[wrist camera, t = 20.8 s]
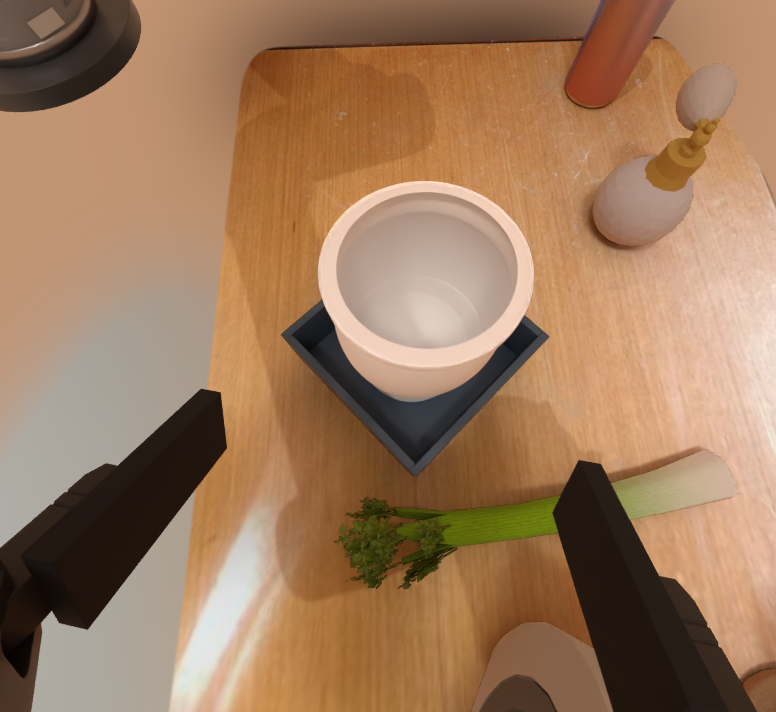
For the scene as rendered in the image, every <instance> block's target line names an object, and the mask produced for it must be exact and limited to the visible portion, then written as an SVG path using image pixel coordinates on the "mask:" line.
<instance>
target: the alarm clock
mask: <svg viewBox="0 0 776 712" xmlns="http://www.w3.org/2000/svg"><path fill="white" fill-rule="evenodd" d="M471 712H613V709H612V706H611V703H610V700H609V696H608V693H607V690H606V687H605V683H604V680H603V677H602V674H601V670H600V667H599V664H598V661H597V657H596V654H595V651H594V648H592V647H591V646H589V645H587V644H585V643H583V642H582V641H580V640H578V639H576V638H575V637H573V636H571V635H569V634H567V633H566V632H564V631H562V630H560V629H558V628H557V627H555V626H553V625H551V624H550V623H548V622H530V623H522V624H521V625H519V626H518V627H516V628H515V629H513V630H511V631H510V632H508V633H507V634H505V635H504V636H503V637H502V638H501V639H500V641H499V642H498V643H497V644H496V645H495V647H494V649H493V652H492V654H491V657H490V660H489V663H488V665H487V668H486V671H485V674H484V677H483V679H482V682H481V685H480V688H479V691H478V693H477V696H476V699H475V702H474V705H473V707H472V710H471Z"/></svg>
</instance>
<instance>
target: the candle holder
mask: <svg viewBox="0 0 776 712" xmlns="http://www.w3.org/2000/svg"><path fill="white" fill-rule="evenodd" d="M742 685H743V687H744V689H745V691H746V692H747V694H748V696H749V698H750V699H751V701H752V703H753V705H754V706H755V708H756V710H757V712H776V668H774V669H766V670H763V671H760V672H757V673H755V674H754V675H752V676H751V677H749V678H748V679H747V680H746V681H745V682H744V683H743V684H742Z"/></svg>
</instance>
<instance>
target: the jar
mask: <svg viewBox="0 0 776 712" xmlns="http://www.w3.org/2000/svg"><path fill="white" fill-rule="evenodd" d="M318 283H319V289H320V293H321V297H322V300H323V303H324V305H325V308H326V310H327V312H328V314H329V315H330V317H331V319H332V321H333V323H334V324H335V329H336V333H337V336H338V339H339V342H340V344H341V347H342V349H343V351H344V353H345V355H346V356H347V358H348V360H349V361H350V363H351V364H352V365H353V367H354V368H355V369H356V370H357V371H358V372H359V373H360V374H361V375H362V376H363V377H364V378H365V379H366V380H367V381H369V382H370V383H371V384H373V385H374V386H375V387H376V388H377V389H378V390H379V391H380V392H382V393H383V394H385V395H386V396H388V397H390V398H393V399H396V400H399V401H404V402H419V401H424V400H428V399H431V398H433V397H435V396H437V395H440V394H443V393H446V392H448V391H451V390H453V389H455V388H457V387H459V386H460V385H462V384H464V383H465V382H467V381H468V380H469V379H471V378H472V377H473V376H474V375H475V374H477V373H478V372H479V371H480V370H481V369H482V368H483V367H484V365H485V364H486V363H487V362H488V361H489V359H490V358H491V357H492V355H493V354H494V352H495V350H496V349H497V347H499V346H500V345H501V344H502V343H503V342H504V341H505V340H506V339H507V338H508V337H509V336H510V335H511V334H512V333H513V331H514V330H515V329H516V327H517V326H518V324H519V323H520V321H521V319H522V318H523V316H524V314H525V312H526V310H527V308H528V305H529V302H530V299H531V296H532V291H533V284H534V268H533V261H532V256H531V253H530V249H529V247H528V244H527V242H526V240H525V238H524V236H523V234H522V232H521V231H520V229H519V228H518V226H517V225H516V223H515V222H514V221H513V220H512V219H511V217H510V216H509V215H508V214H507V213H506V212H505V211H503V210H502V209H501V208H500V207H499V206H498V205H496V204H495V203H493V202H492V201H491V200H489V199H487V198H486V197H484V196H482V195H480V194H478V193H476V192H474V191H472V190H469V189H467V188H464V187H461V186H457V185H453V184H449V183H443V182H434V181H415V182H406V183H400V184H396V185H392V186H388V187H385V188H383V189H380V190H377V191H375V192H373V193H371V194H369V195H367V196H365V197H364V198H362V199H360V200H359V201H357V202H356V203H355V204H353V205H352V206H351V207H350V208H349V209H347V210H346V211H345V212H344V213H343V214H342V215H341V216H340V218H339V219H338V220H337V221H336V222H335V224H334V225H333V227H332V228H331V230H330V231H329V233H328V235H327V237H326V239H325V241H324V244H323V247H322V250H321V253H320V258H319V264H318Z"/></svg>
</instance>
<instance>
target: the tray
mask: <svg viewBox="0 0 776 712" xmlns="http://www.w3.org/2000/svg"><path fill="white" fill-rule="evenodd" d="M281 335H282V337H283V338H284V339H285V340H286V341H287V343H288V344H289V345H290V346H291V347H292V349H293V350H294V351H295V352H296V353H297V355H298V356H299V357H300V358H301V359H302V360H303V361H304V362H305V363H306V364H307V365H308V367H309V368H310V369H311V370H312V371H313V372H314V373H315V374H316V375H317V376H318V377H319V378H320V379H321V380H322V381H323V382H324V383H325V384H326V386H327V387H328V388H329V389H330V390H331V391H332V392H333V393H334V394H335V395H336V396H337V397H338V398H339V399H340V400H341V401H342V402H343V403H344V405H345V406H346V407H347V408H348V409H349V410H350V411H351V412H352V413H353V414H354V415H355V416H356V417H357V418H358V419H359V420H360V421H361V422H362V424H363V425H364V426H365V427H366V428H367V429H368V430H369V431H370V432H371V433H372V434H373V435H374V436H375V437H376V438H377V439H378V440H379V441H380V443H381V444H382V445H383V446H384V447H385V448H386V449H387V450H388V451H389V452H390V453H391V454H392V455H393V456H394V457H395V458H396V459H397V460H398V462H399V463H400V464H401V465H402V466H403V467H404V468H405V469H406V470H407V471H408V472H409V473H410V474H411V475H413V476H417V475H418V474H419V473H420V472H421V471H422V470H423V469H424V468H425V467H426V466H427V465H428V464H429V463H430V462H431V461H432V460H433V459H434V458H435V457H436V456H437V454H438V453H439V452H440V451H441V450H442V449H443V448H444V447H445V446H446V445H447V444H448V443H449V442H450V441H451V440H452V439H453V438H454V437H455V436H456V435H457V433H458V432H459V431H460V430H461V429H462V428H463V427H464V426H465V425H466V424H467V423H468V422H469V421H470V420H471V419H472V418H473V417H474V416H475V415H476V413H477V412H478V411H479V410H480V409H481V408H482V407H483V406H484V405H485V404H486V403H487V402H488V401H489V400H490V399H491V398H492V397H493V396H494V395H495V394H496V392H497V391H498V390H499V389H500V388H501V387H502V386H503V385H504V384H505V383H506V382H507V381H508V380H509V379H510V378H511V377H512V376H513V375H514V374H515V373H516V371H517V370H518V369H519V368H520V367H521V366H522V365H523V364H524V363H525V362H526V361H527V360H528V359H529V358H530V357H531V356H532V355H533V354H534V353H535V351H536V350H537V349H538V348H539V347H540V346H541V345H542V344H543V343H544V342H545V341H546V340H547V339H548V338H549V336H548V335H547V334H546V333H545V332H543V330H541V329H540V328H539V327H538V326H537V325H535V324H534V323H533V322H532V321H531V320H530V319H528V318H527V317H526V316H525V315H524V316H523V318H522V319H521V321H520V323H519V324H518V326H517V327H516V329H515V330H514V331H513V333H512V334H511V335H510V336H509V337H508V338H507V339H506V340H505V341H504V342H503V343H502V344H501V345H500V346H499V347H497V349H496V350H495V352H494V354H493V355H492V357H491V358H490V359H489V361H488V362H487V363H486V364H485V365H484V367H483V368H482V369H481V370H480V371H479V372H478V373H477V374H475V375H474V376H473V377H472V378H471V379H469V380H468V381H467V382H465V383H464V384H462V385H460V386H459V387H457V388H455V389H453V390H451V391H448V392H446V393H443V394H440V395H437V396H435V397H433V398H431V399H428V400H424V401H419V402H404V401H399V400H396V399H393V398H390V397H388V396H386V395H385V394H383V393H382V392H380V391H379V390H378V389H377V388H376V387H375V386H374V385H373V384H371V383H370V382H369V381H367V380H366V379H365V378H364V377H363V376H362V375H361V374H360V373H359V372H358V371H357V370H356V369H355V368H354V367H353V365H352V364H351V363H350V361H349V360H348V358H347V356H346V355H345V353H344V351H343V349H342V347H341V344H340V342H339V339H338V336H337V333H336V329H335V324H334V323H333V321H332V319H331V317H330V315H329V314H328V312H327V310H326V308H325V305H324V303H323V300H321V301H320V302H318V303H317V304H316V305H315V306H314V307H313V308H311V309H310V310H309V311H308V312H307V313H306V314H304V315H303V316H302V317H301V318H300V319H299V320H297V321H296V322H295V323H294V324H293V325H291V326H290V327H289V328H288V329H287V330H286V331H284V332H283V333H282V334H281Z"/></svg>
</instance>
